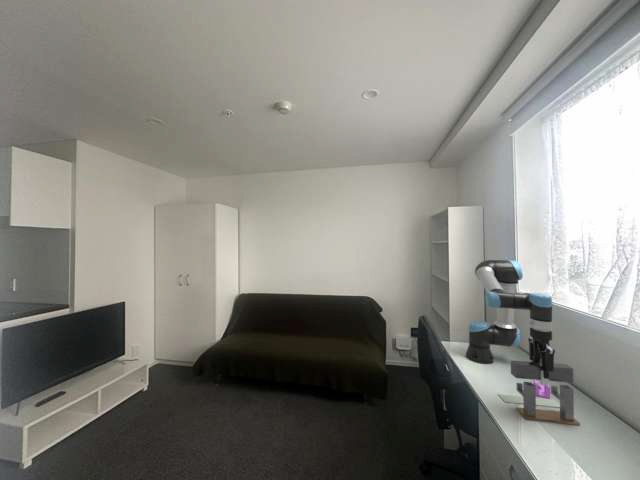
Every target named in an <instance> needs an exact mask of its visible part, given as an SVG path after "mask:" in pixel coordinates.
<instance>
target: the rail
mask: <svg viewBox="0 0 640 480" xmlns="http://www.w3.org/2000/svg"><path fill="white" fill-rule="evenodd" d="M540 369H542V364H541V361H540V362H532V361H526V360H524V361H523V360H510V374H511V375H512V376H513V377H514V378H516V379H522V380H523V379H525V380H533V381H534V380H536V381H541V370H540ZM549 382H561V383H574V368H572V367H571V366H569V365H567V364H566V363H556V362H554V369H553V372H549Z"/></svg>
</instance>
